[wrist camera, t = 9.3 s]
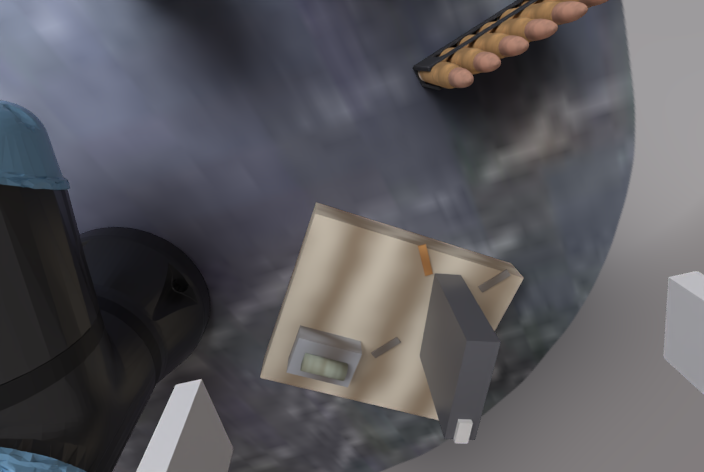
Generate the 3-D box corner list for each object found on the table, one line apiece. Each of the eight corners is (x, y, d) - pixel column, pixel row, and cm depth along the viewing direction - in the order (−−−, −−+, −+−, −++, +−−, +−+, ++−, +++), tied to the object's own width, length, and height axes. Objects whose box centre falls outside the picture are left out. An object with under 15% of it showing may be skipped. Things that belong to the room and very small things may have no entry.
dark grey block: (434, 273, 40) (468, 344, 30) (460, 274, 40) (502, 345, 30) (419, 355, 43) (445, 443, 34) (443, 356, 43) (476, 443, 34)
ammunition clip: (422, 87, 37) (463, 103, 26) (411, 67, 36) (449, 74, 25) (541, 13, 35) (639, -4, 24) (532, -10, 35) (629, -38, 24)
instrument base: (263, 358, 47) (254, 402, 41) (317, 198, 40) (315, 224, 34) (438, 401, 50) (452, 447, 44) (513, 260, 44) (541, 293, 38)
